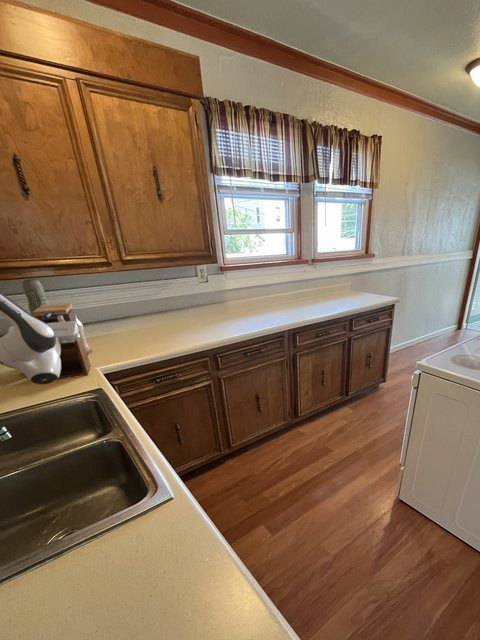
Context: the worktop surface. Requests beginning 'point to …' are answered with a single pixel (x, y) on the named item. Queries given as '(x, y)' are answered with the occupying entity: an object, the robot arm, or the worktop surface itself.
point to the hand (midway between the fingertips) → (45, 317)
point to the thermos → (34, 294)
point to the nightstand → (71, 351)
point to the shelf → (52, 310)
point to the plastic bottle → (83, 336)
